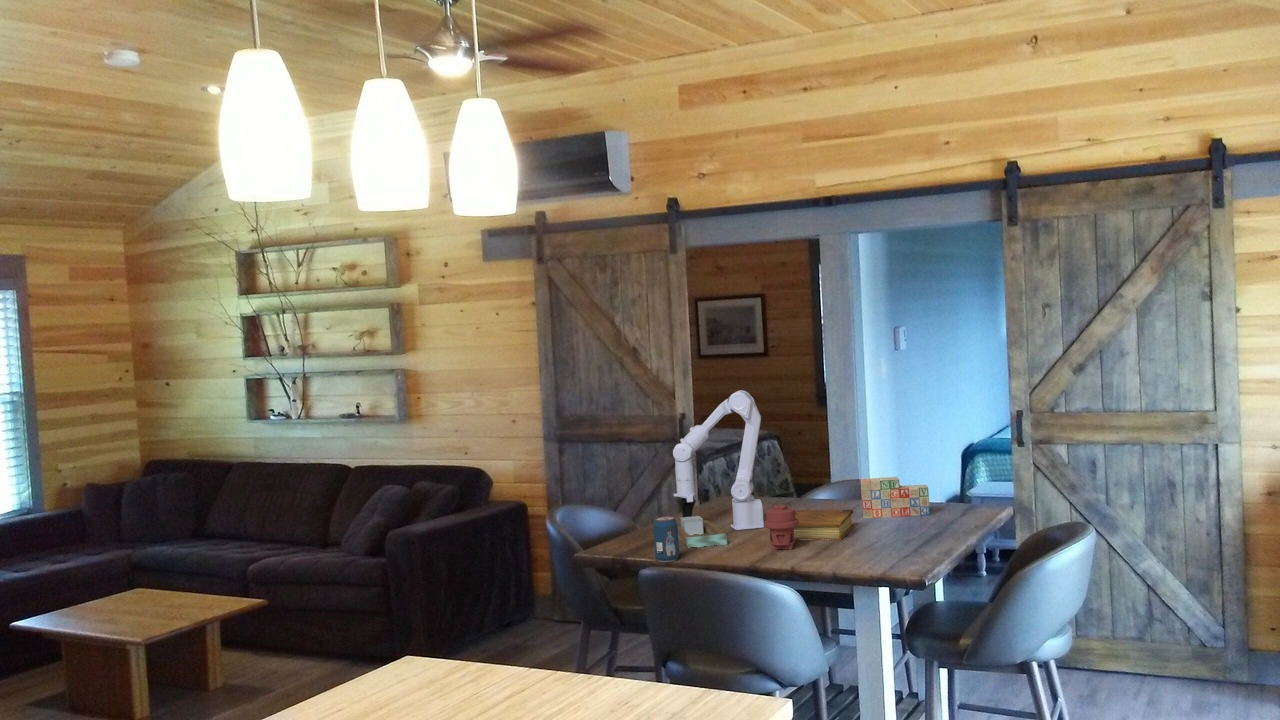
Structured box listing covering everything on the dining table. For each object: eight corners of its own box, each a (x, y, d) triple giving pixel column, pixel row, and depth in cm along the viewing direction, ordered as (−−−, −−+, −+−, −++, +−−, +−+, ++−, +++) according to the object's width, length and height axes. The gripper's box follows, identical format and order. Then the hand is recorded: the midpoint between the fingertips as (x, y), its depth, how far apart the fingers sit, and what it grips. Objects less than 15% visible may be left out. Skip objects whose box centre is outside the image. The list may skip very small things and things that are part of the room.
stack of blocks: (928, 512, 370) (926, 475, 370) (930, 516, 364) (928, 477, 364) (862, 515, 374) (859, 478, 373) (862, 518, 367) (860, 480, 367)
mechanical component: (805, 549, 324) (773, 553, 321) (792, 543, 334) (760, 547, 331) (803, 506, 324) (770, 510, 321) (789, 502, 333) (757, 505, 331)
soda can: (665, 556, 327) (662, 515, 327) (684, 558, 323) (681, 516, 323) (650, 561, 322) (647, 519, 322) (669, 563, 318) (666, 520, 317)
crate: (700, 531, 365) (699, 515, 365) (703, 534, 359) (702, 518, 359) (681, 532, 364) (680, 517, 364) (684, 536, 358) (683, 520, 358)
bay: (707, 528, 367) (707, 519, 367) (727, 544, 339) (726, 534, 339) (671, 532, 365) (670, 523, 365) (687, 548, 337) (687, 538, 337)
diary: (795, 528, 362) (794, 510, 362) (854, 527, 355) (853, 509, 355) (779, 541, 340) (778, 522, 340) (841, 541, 334) (840, 522, 334)
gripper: (668, 478, 375) (671, 518, 375) (676, 483, 360) (679, 525, 361) (689, 476, 376) (692, 516, 376) (698, 481, 361) (701, 523, 362)
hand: (687, 521), depth 369 cm, fingers closed
